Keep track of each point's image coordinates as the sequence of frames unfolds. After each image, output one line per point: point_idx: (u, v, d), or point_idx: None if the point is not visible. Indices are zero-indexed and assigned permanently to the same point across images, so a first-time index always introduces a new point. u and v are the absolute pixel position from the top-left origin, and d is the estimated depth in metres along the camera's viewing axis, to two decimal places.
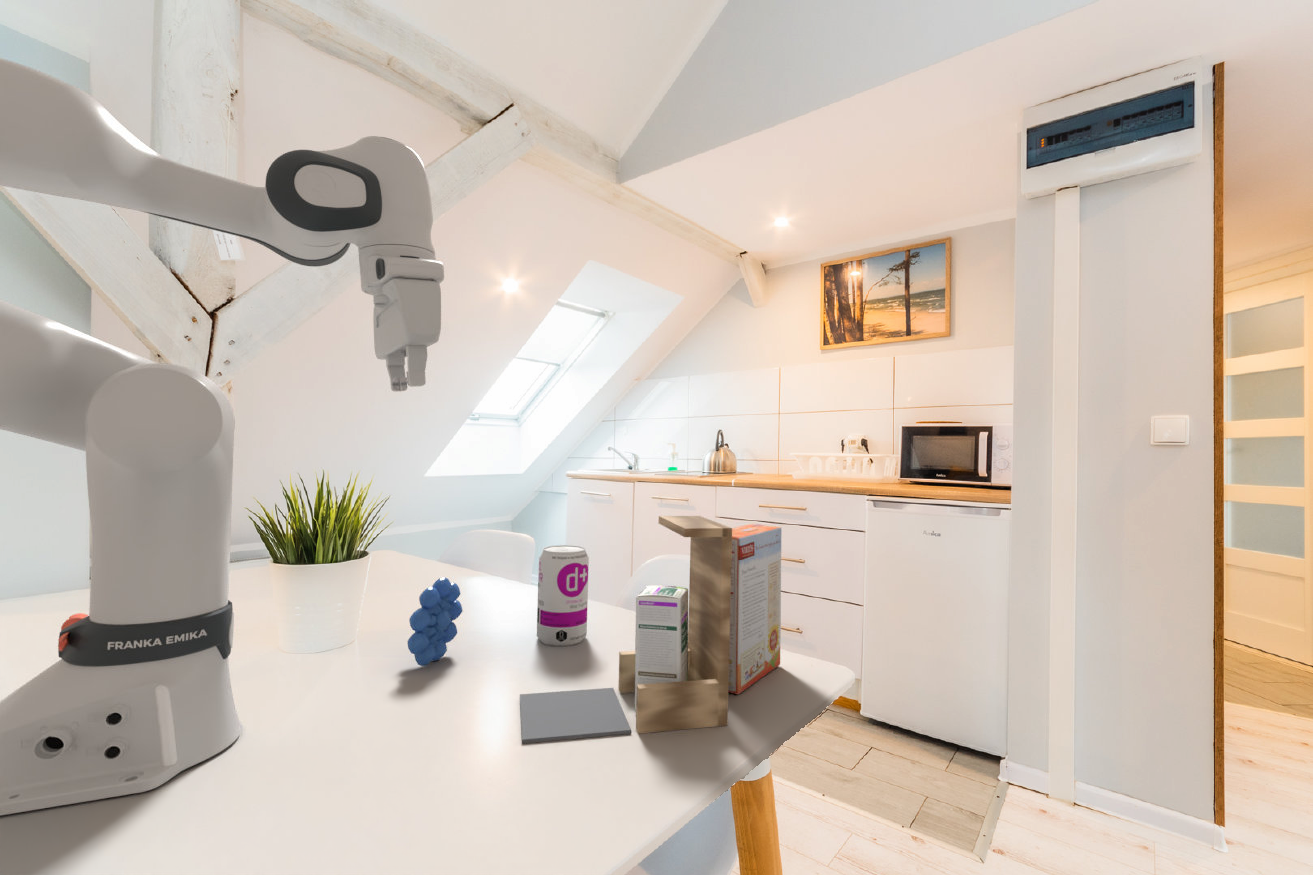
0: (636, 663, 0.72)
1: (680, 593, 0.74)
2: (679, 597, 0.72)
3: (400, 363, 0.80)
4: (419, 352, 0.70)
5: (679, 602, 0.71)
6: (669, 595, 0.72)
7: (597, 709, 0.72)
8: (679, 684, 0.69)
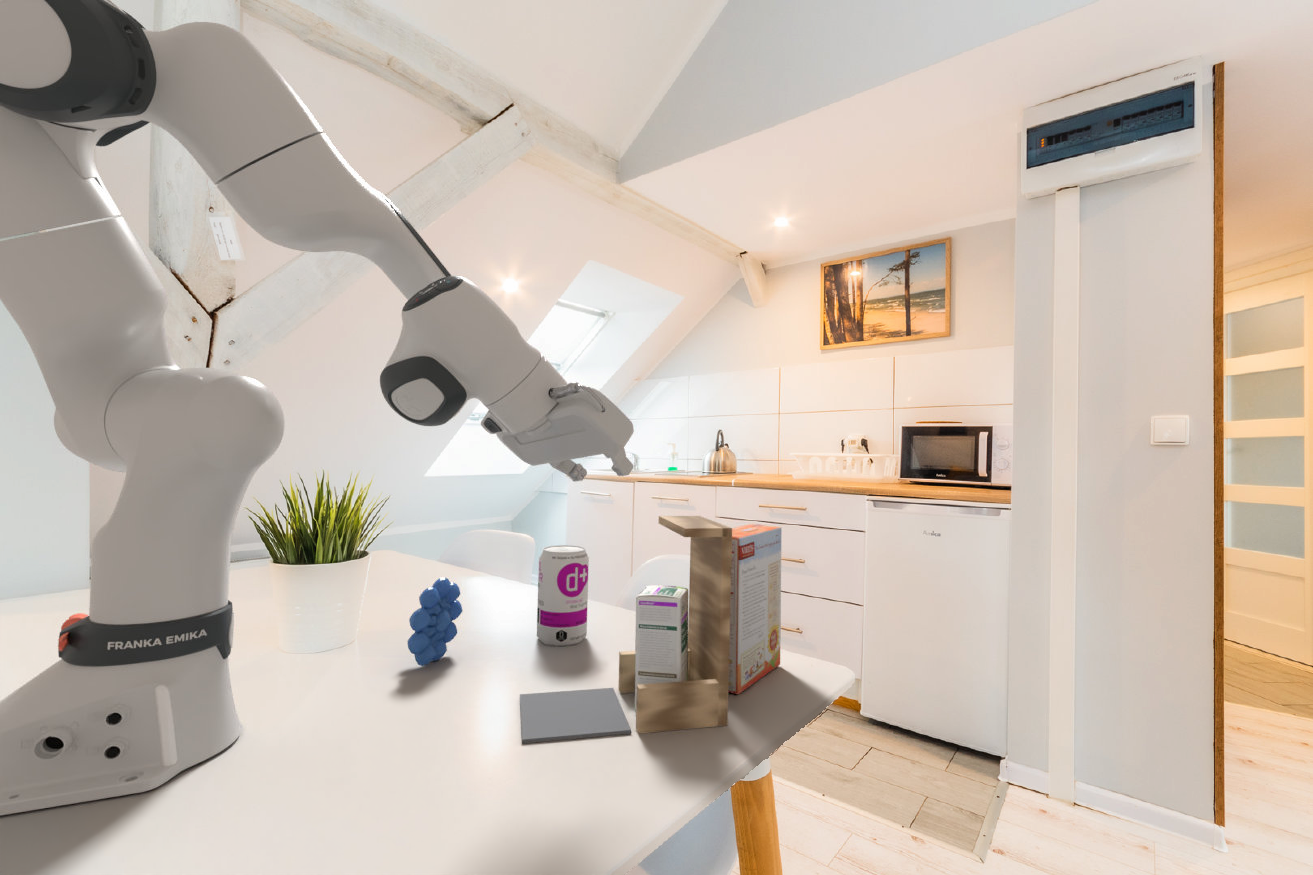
0: (636, 663, 0.72)
1: (680, 593, 0.74)
2: (679, 597, 0.72)
3: None
4: None
5: (679, 602, 0.71)
6: (669, 595, 0.72)
7: (597, 709, 0.72)
8: (679, 684, 0.69)
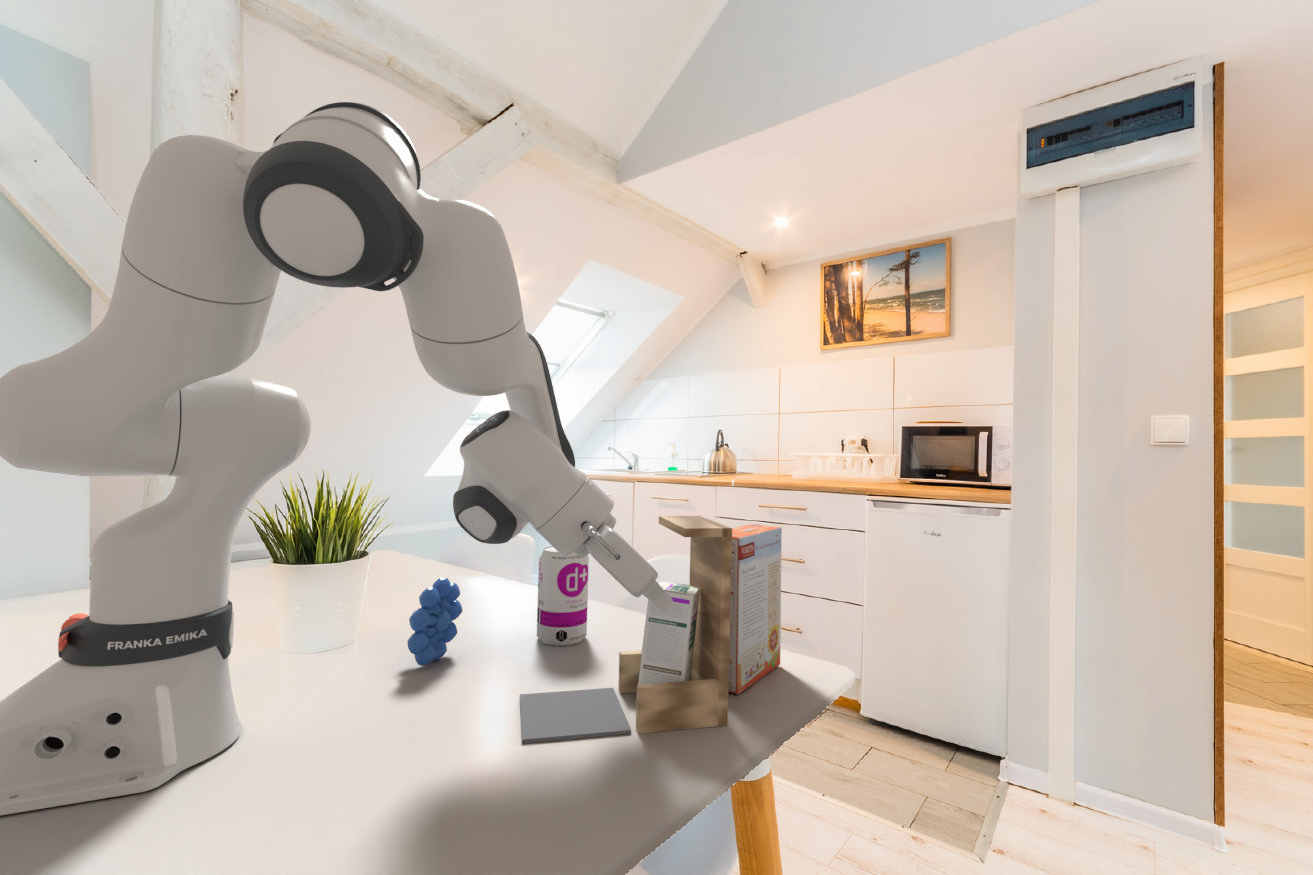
0: (642, 656, 0.72)
1: (693, 591, 0.74)
2: (692, 595, 0.72)
3: None
4: None
5: (692, 599, 0.72)
6: (682, 592, 0.73)
7: (597, 709, 0.72)
8: (679, 684, 0.69)
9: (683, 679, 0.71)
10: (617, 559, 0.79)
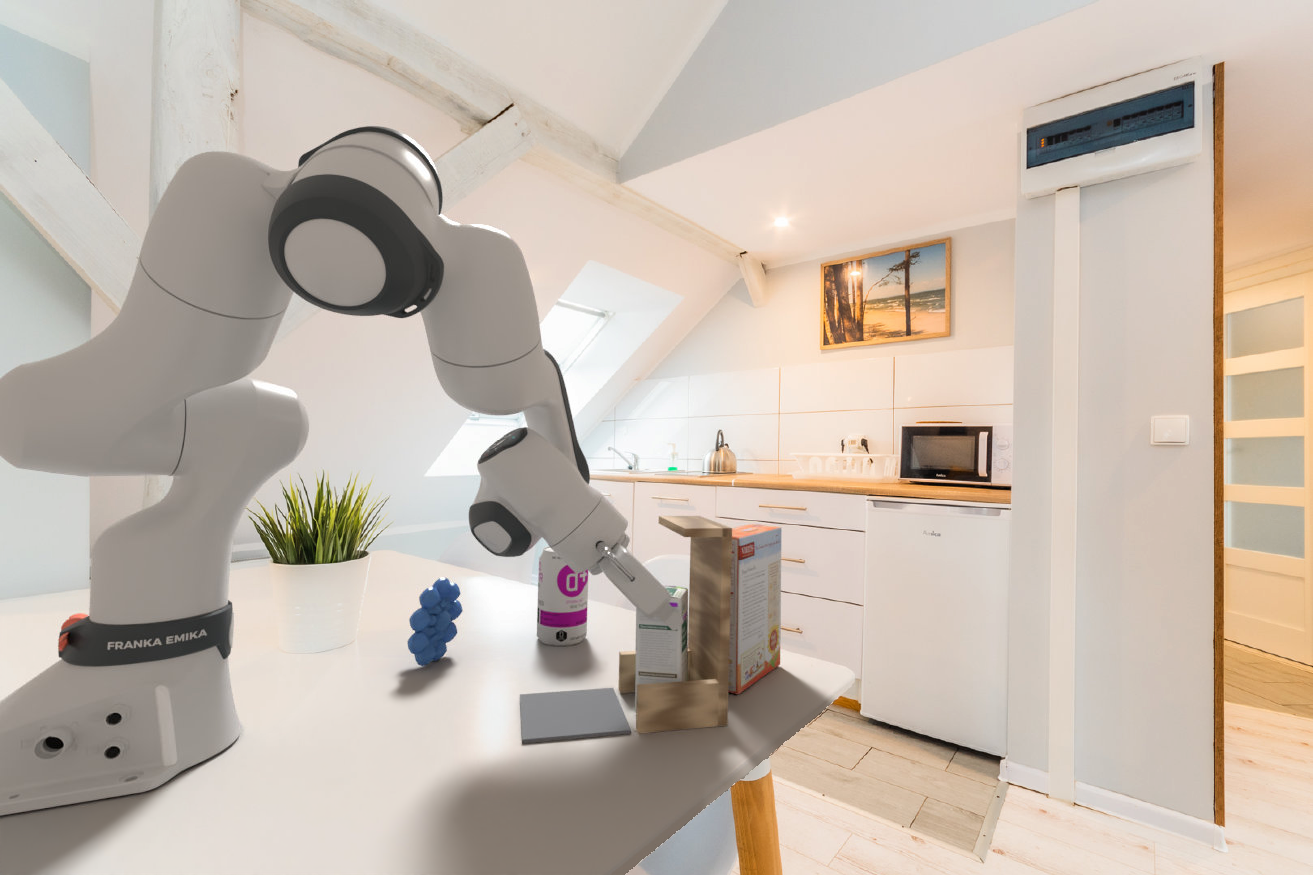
0: (636, 663, 0.72)
1: (680, 593, 0.74)
2: (679, 597, 0.72)
3: None
4: None
5: (679, 602, 0.71)
6: None
7: (597, 709, 0.72)
8: (679, 684, 0.69)
9: (679, 681, 0.71)
10: None
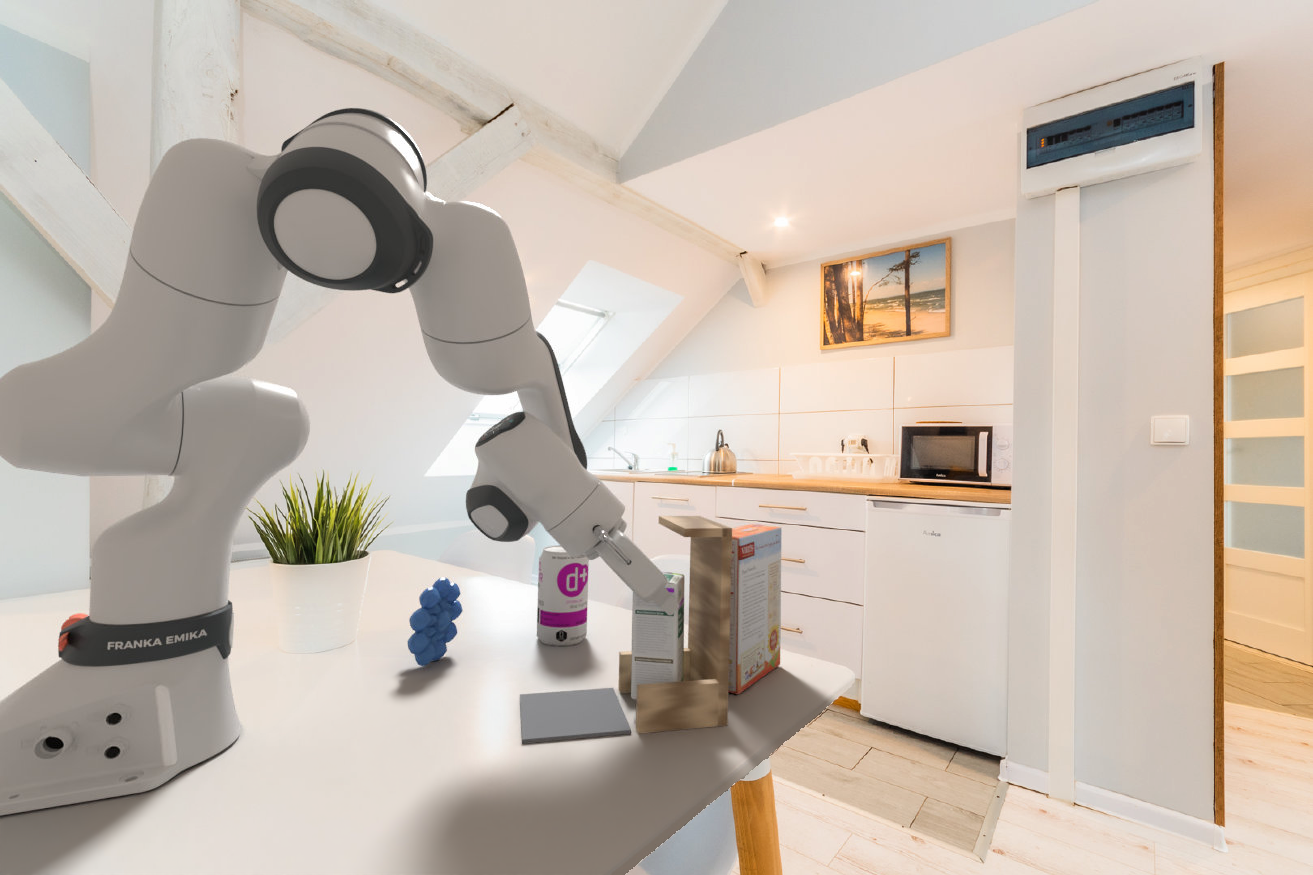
0: (633, 649, 0.72)
1: (677, 579, 0.74)
2: (676, 583, 0.72)
3: None
4: None
5: (676, 588, 0.71)
6: None
7: (597, 709, 0.72)
8: (679, 684, 0.69)
9: (675, 667, 0.71)
10: None
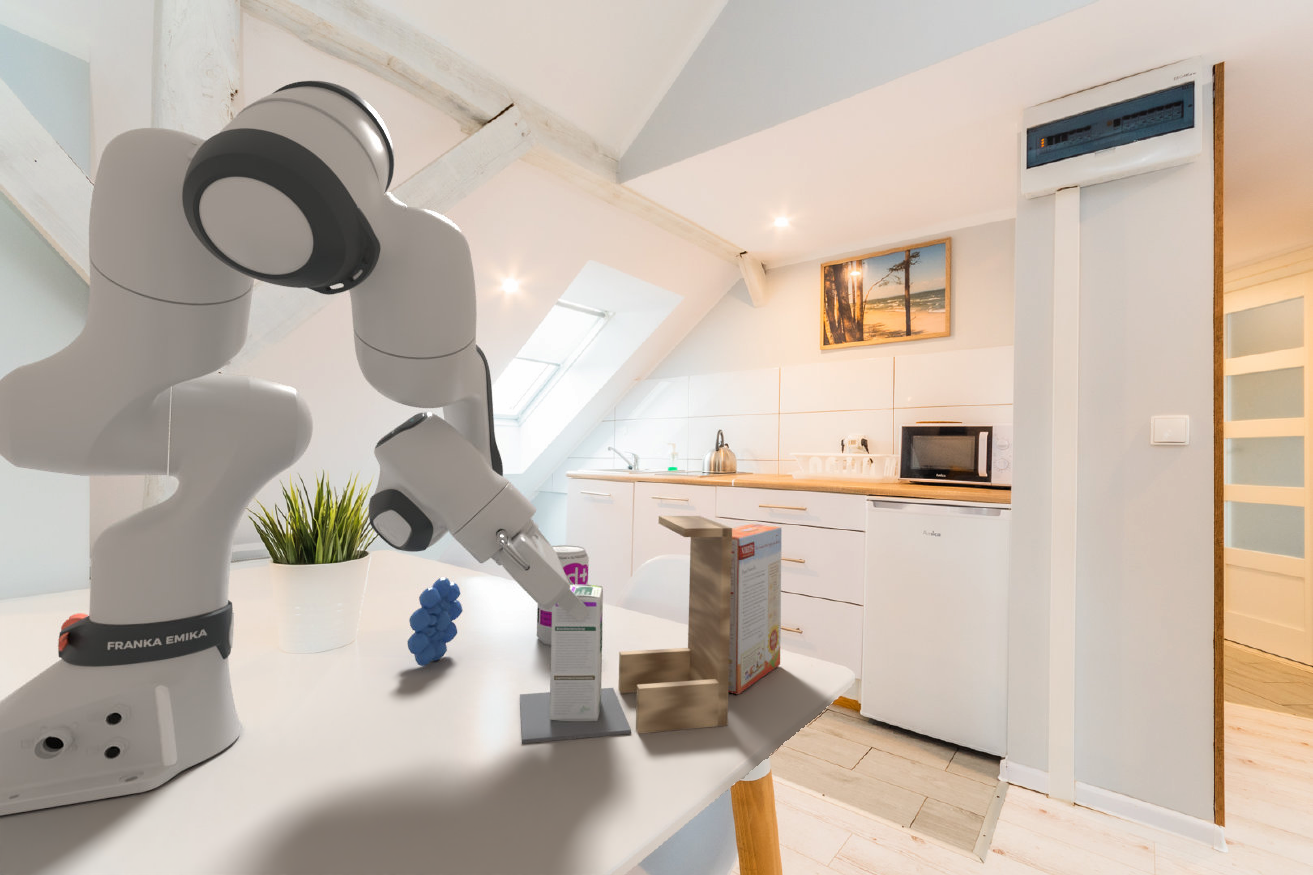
0: (552, 667, 0.69)
1: (597, 592, 0.71)
2: (598, 596, 0.70)
3: None
4: None
5: (598, 601, 0.69)
6: (587, 594, 0.70)
7: None
8: (679, 684, 0.69)
9: (597, 683, 0.69)
10: None
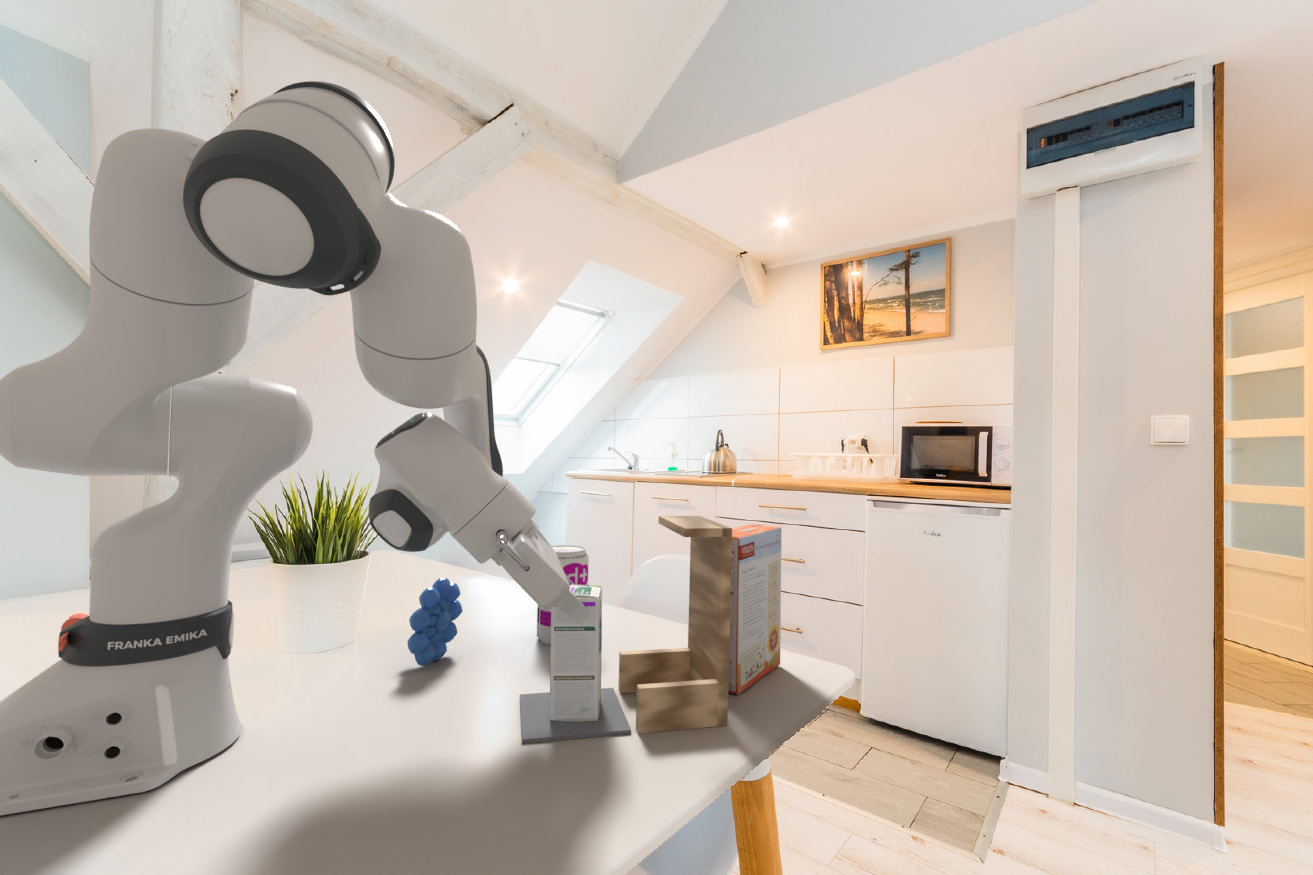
0: (551, 668, 0.69)
1: (596, 592, 0.71)
2: (597, 596, 0.70)
3: None
4: None
5: (597, 601, 0.69)
6: (586, 594, 0.70)
7: None
8: (679, 684, 0.69)
9: (597, 683, 0.69)
10: None
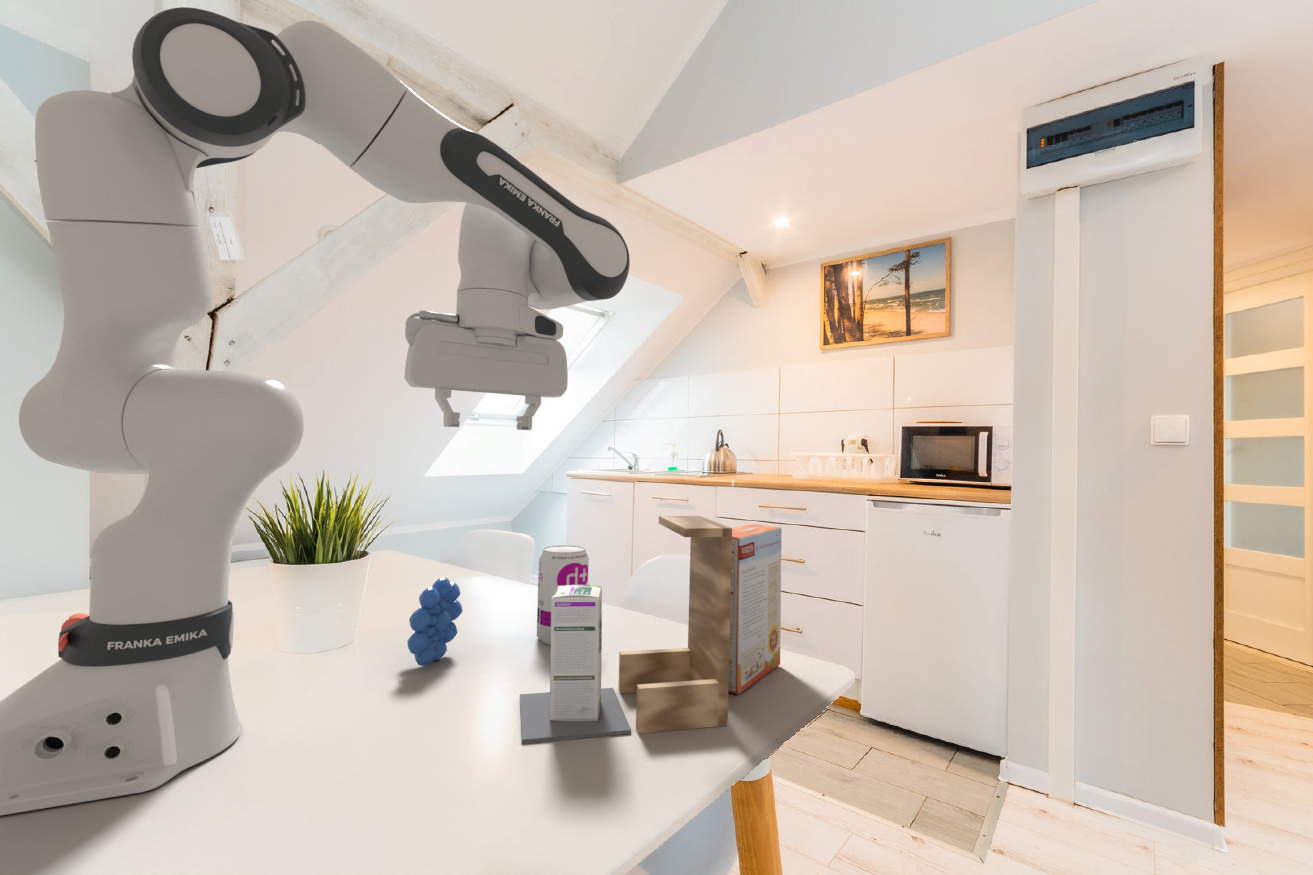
0: (551, 668, 0.69)
1: (596, 592, 0.71)
2: (597, 596, 0.70)
3: None
4: None
5: (597, 601, 0.69)
6: (586, 594, 0.70)
7: None
8: (679, 684, 0.69)
9: (597, 683, 0.69)
10: None
